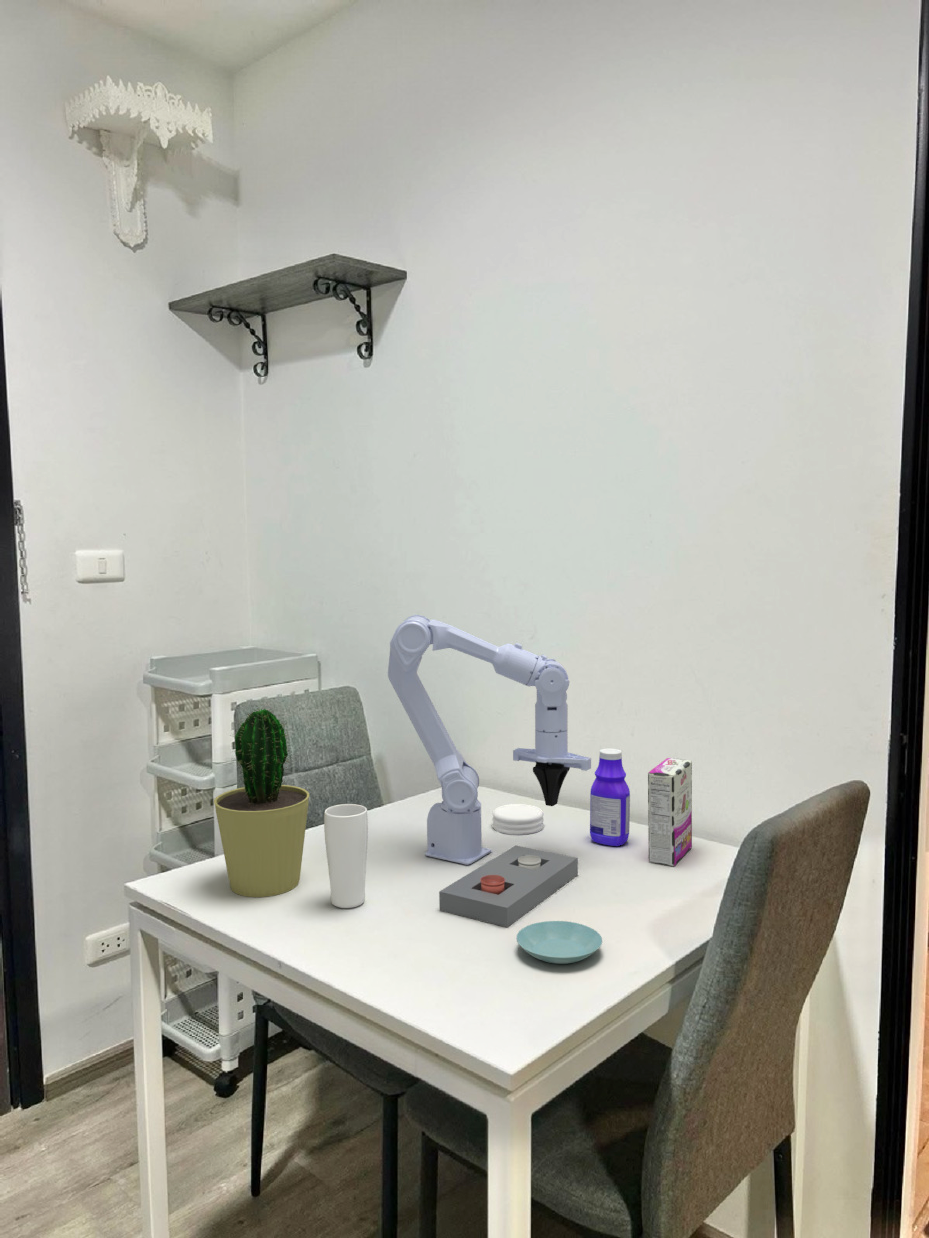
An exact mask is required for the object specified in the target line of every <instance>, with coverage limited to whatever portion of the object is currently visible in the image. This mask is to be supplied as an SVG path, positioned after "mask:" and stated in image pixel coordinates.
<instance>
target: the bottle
mask: <svg viewBox="0 0 929 1238" xmlns="http://www.w3.org/2000/svg"><path fill="white" fill-rule="evenodd" d="M622 752H623V751H622V750H620V749H617V748H610V747H608V748H601V749H600V750H599V755H598V756H599V760H598V766H597V767H596V769H595V771H594V776H595V779H594V780H593V782H592V784H591V787H590V799H589V801H590V802H589V803H590V806H589V807H590V810H589V835H590V839H591V840H592V842H595V844H596V843H597V844H602V845H605V846H611V847H620V845H621V846H623V845H624V844H625V843H626V842H628V839H629V836H630V822H631V821H630V817H631V813H630V812H631V811H630V810H631V791H630V787H629V785H628V783H627V782H626V779H625V778H626V776H627V773H626V771H625V770H624V767H623V766H624V765H623V756H622V755H623V753H622Z"/></svg>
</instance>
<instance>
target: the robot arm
mask: <svg viewBox="0 0 929 1238" xmlns="http://www.w3.org/2000/svg"><path fill="white" fill-rule="evenodd" d="M391 637H392V638H391V639H390V641H389V658H388V665H387V667H388V668H387V677H388V681H389V682H390V684H391V686H392V688H393V689H394V691H395V693H396V696H397V697H398V699H399V701H400V703H401V705H402V707H403V709H404V711H405V713H406V714H407V716H408V718H409V720H410V722H411V724H412V726H413V728H414V730H415V732H416V733H417V735H418V737H419V739H420V741H421V744H423V747H424V748H425V750H426V752H427V753H426V754H427V755H428V756H429V758H430V760H431V762H432V764H433V766H434V770H435V775H436V777H437V780H438V783H440V787H441V798H442V801H441V802H436V803H434V804H433V805H432V806H431V807H430V809H429V811H428V815H427V818H426V836H427V837H426V839H427V840H426V843H427V844H426V847H427V848H426V849H427V850H426V852H425V853H424V856H427V857H430V858H435V859H438V860H442V861H443V860H444V861H449V862H453V863H456V864H457V863H458V864H463V865H467V866H469V865H471V864H473V863H475V862H476V861H479V860H480V859H482V858H484V857H485V856H486V855H488V854H490V853H491V852H492V849H491V848H488V847H483V846H482V840H483V839H482V803H481V801H480V800H479V799H478V795H479V793H478V792H479V791H478V789H479V786H480V777H479V774H478V772H477V771H476V769H475V768H474V767H473V766H472V765H470V764H468V762H467V761H466V760H465V758H464V757H463V754H462V753H460V751H459V750H458V749H457V747H456V746H455V744H454V742H453V740H452V738H451V735H450V734H449V732H448V730H447V729H446V726H445V724H444V722H443V721H442V718H441V717H440V715H439V712H438V711H437V709H436V707H435V705H434V704H433V703H434V702H432V700H431V698H430V695H429V693H428V692H427V690H426V688H425V686H424V684H423V682H422V680H421V678H420V677H419V675H418V671H419V670H418V669H419V667H420V663H421V661H422V658H423V655H425V653H426V651H427V650H428V649H429V647H430V646H431V645H432V651H433V652H435V651H439V650H447V649H453V650H455V651H458V652H461V653H463V654H466V655H468V656H472V657H474V658H476V659H480V660H482V661H484V662H487V663H490V664H491V665H492V667H493V669H494V671H495V673H496V674H497V675H499V676H501V677H505V678H507V679H509V680H512V681H514V682H516V683H519V684H522V685H524V686H526V687H535V689H536V702H535V703H534V720H535V721H534V724H535V725H534V728H535V729H534V747H535V748H523V747H522V748H520V747H517V748H515V749H513V750H512V760H513V761H515V762H519V761H524V762H530V763H535V764H534V765H535V766H533V767H532V772H533V774H534V776H535V778H536V779H537V781H538V783H539V786H540V788H541V791H542V795H543V799H544V802H545V806H548V807H554V806H555V805H557V804H558V802H559V796H560V794H561V793H560V792H561V789H562V786H563V784H564V781H565V779H566V777H567V774H568V772H569V771H570V768H573V769H580V770H581V771H586V772H587V771H589V770H591V769H592V757H589V756H584V755H579V754H577V753H576V754H575V753H573V752H568V746H569V745H568V743H569V742H568V738H569V737H568V733H569V732H568V729H569V728H568V726H569V725H568V723H569V721H568V719H569V718H568V714H569V713H568V707H569V706H568V702H567V700H568V694H567V691H568V689H569V686H570V680H569V676H568V673H567V670H566V668H565V667H564V666H563V665H562V664H561V663H560V662H558V661H557V660H556V659H554V658H548V656H547V655H545V654H541V655H538V654H535V653H534V652H530V651H528V650H526V649H524V648H523V645H522V644H521V643H518V642H515V643H514V644H511V643H505V644H503V645H500V646H498V645H495V644H493V643H491V642H489V641H487V640H484V639H482V638H480V637H478V636H476V635H473V634H471V633H469V632H467V631H464V630H462V629H461V628H458V627H456V626H455V625H452V624H449V623H447V622H446V623H445V622H443V621H440V620H438V619H433V618H431V619H429V618H428V617H426V616H424V615H420V614H414V615H410V616H408V617H407V618H405V620H403V622H401V623H400V624H399V625H398V626H397V627H396V629H395V631H394V633H393V635H392V636H391Z"/></svg>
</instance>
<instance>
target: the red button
mask: <svg viewBox="0 0 929 1238" xmlns="http://www.w3.org/2000/svg"><path fill="white" fill-rule="evenodd" d="M504 883H505V878H504V877H502V876H499V875H487V876H483V877H482V878H481V891H484V892H488V893H492V894H497V895H499V894H501V893H502V892H504Z"/></svg>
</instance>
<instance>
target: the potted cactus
mask: <svg viewBox="0 0 929 1238" xmlns="http://www.w3.org/2000/svg"><path fill="white" fill-rule="evenodd" d="M273 712H274V710H273V709H272V710H271V709H269V710H268V709H266V708H261V709H259V708H258V707H256V709H254V711H252V712H251V713H249V712H248V713H246V714H245V716H246V718H245V719H244V721H243V722H242V723H241V722H240V721H238V719H236V721H237V722H238V727H239V728H238V729H237V731H236V734H233V732H231V735H230V734H229V736H231V737H233V738H234V739H235V740H234V742H233V745H235V748H234V750H233V753H235V757H233V760H234V759H235V760H236V763H237V765H238V768H237V769H235V771H237V770H238V769H240V771H241V773H240V776H242V777H241V778H240V780H242V783H243V785H244V786H243V787H239V788H235V789H231V790H228V791H225V792H223V793H221V794H219V795H217V796H216V797H215V798H214V799H213V804H214V807H215V808H214V809H215V813H216V820H217V823H218V824H217V825H218V830H219V834H220V840H221V845H222V851H223V856H224V861H225V865H226V867H225V868H226V871H227V875H228V876H227V877H228V882H229V886H230V889H231V891H232V892H233V893H234V894H237V895H239V896H242V897H249V898H263V897H265V898H267V897H273V896H278V895H282V894H286V893H287V892H290V891H292V890H294V889H295V888H296V887H297V886H298V885H299V883H300V879H301V871H302V863H303V852H304V844H305V836H306V828H307V821H308V820H307V818H308V811H309V802H310V801H309V798H310V792H309V791H308V790H306V789H305V788H302V787H299V786H295V785H289V784H287V782H285V780H284V778H283V777H284V774H285V769H287V767H286V764H287V763H288V764H290V765H291V764H292V763H291V762H289V761H294V760H292V759H291V758H290V756H289V753H290V750H289V749H288V747H290V746H291V744H289V745H288V746H287V739H288V736H289V734H288V733H285V728H284V726H286V724H287V723H284V722H281V719H278V718H277V715H276V714H274V713H273ZM288 752H289V753H288ZM288 758H289V759H288ZM229 759H230V760H232V757H231V758H229ZM292 765H293V764H292ZM284 766H285V767H284ZM282 783H284V784H282Z"/></svg>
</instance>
